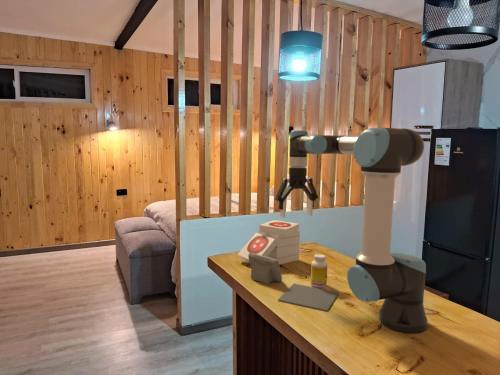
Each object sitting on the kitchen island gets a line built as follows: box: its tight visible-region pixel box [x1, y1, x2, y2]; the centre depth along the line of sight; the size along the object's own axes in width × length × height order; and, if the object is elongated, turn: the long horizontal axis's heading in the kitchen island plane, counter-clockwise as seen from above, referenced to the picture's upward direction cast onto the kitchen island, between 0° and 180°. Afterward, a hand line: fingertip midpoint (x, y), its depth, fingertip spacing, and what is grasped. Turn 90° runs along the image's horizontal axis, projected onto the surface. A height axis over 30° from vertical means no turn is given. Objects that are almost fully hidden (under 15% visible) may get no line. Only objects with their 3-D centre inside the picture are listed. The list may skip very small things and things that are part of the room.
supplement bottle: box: [310, 253, 328, 289], centre depth 158 cm, size 7×7×13 cm
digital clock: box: [248, 253, 283, 285], centre depth 164 cm, size 16×9×11 cm, turn 39°
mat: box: [277, 283, 340, 312], centre depth 146 cm, size 18×19×1 cm
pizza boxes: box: [237, 219, 301, 266], centre depth 188 cm, size 19×30×18 cm, turn 127°
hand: (296, 216), depth 163 cm, fingers open, 13 cm apart
